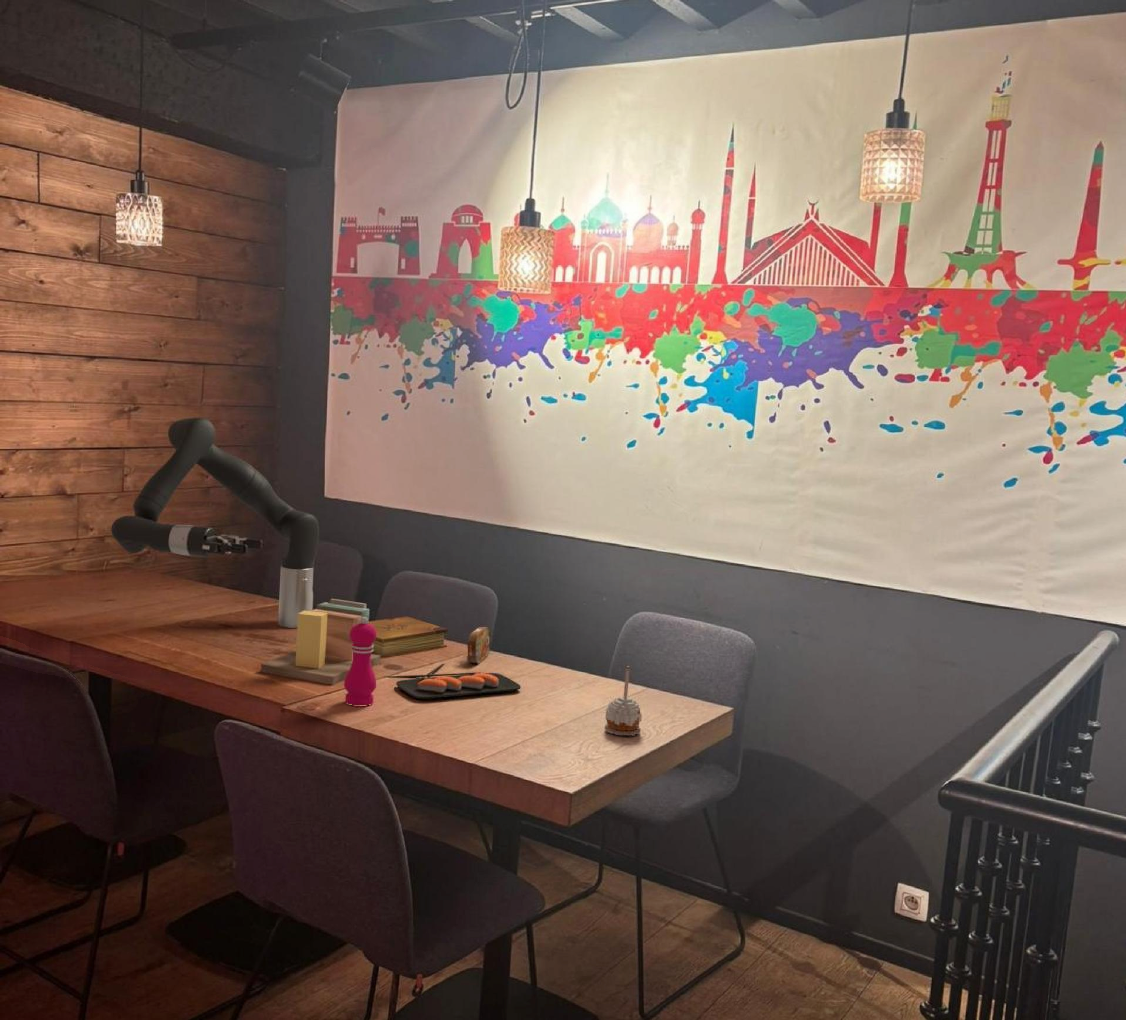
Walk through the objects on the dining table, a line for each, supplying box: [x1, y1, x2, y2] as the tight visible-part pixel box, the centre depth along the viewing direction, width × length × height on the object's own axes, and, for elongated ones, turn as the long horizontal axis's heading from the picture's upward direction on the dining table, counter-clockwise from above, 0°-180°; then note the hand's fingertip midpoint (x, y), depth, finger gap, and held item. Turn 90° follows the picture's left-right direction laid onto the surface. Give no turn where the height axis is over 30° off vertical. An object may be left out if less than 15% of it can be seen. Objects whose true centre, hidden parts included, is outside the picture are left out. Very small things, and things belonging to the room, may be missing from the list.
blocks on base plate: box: [260, 598, 382, 686], centre depth 273 cm, size 24×20×15 cm
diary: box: [369, 616, 449, 659], centre depth 301 cm, size 23×19×6 cm
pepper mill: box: [343, 617, 377, 706], centre depth 246 cm, size 7×7×20 cm
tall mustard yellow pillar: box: [295, 611, 327, 668], centre depth 267 cm, size 4×6×13 cm, turn 81°
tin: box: [467, 626, 492, 665], centre depth 292 cm, size 15×3×8 cm, turn 168°
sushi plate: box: [385, 663, 522, 699], centre depth 270 cm, size 29×30×4 cm
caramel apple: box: [604, 665, 642, 736], centre depth 240 cm, size 8×8×15 cm
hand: (254, 547), depth 267 cm, fingers open, 8 cm apart
